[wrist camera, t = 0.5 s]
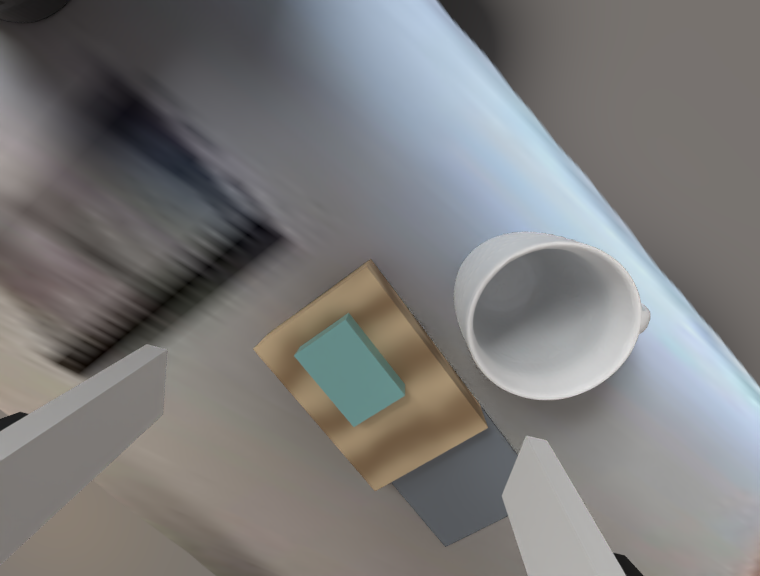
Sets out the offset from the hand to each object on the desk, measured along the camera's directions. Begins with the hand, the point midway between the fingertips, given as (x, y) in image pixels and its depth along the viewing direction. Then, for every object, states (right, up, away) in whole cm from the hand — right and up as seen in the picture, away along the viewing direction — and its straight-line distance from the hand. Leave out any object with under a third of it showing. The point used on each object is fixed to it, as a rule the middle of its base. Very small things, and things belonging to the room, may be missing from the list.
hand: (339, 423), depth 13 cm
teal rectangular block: (-1, -3, +22) cm, 22 cm away
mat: (+11, -17, +29) cm, 35 cm away
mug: (+14, +6, +23) cm, 27 cm away
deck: (+1, -4, +26) cm, 26 cm away
